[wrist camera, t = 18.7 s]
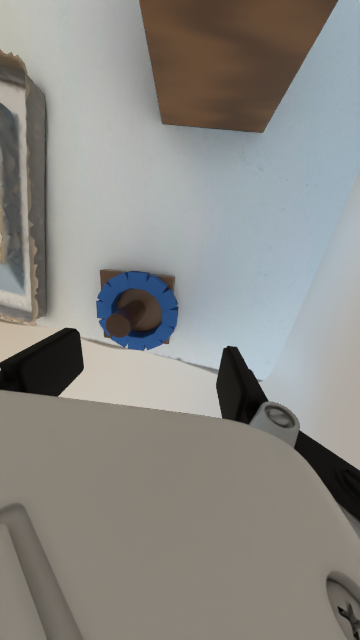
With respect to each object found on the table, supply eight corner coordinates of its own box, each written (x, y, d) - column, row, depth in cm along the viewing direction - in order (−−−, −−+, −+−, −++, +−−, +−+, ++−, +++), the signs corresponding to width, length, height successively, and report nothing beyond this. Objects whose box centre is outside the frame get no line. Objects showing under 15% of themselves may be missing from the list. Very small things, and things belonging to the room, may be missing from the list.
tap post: (174, 276, 21) (168, 283, 14) (169, 339, 24) (162, 371, 17) (105, 269, 21) (64, 272, 14) (108, 333, 24) (76, 362, 17)
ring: (181, 276, 20) (181, 277, 18) (174, 347, 23) (173, 354, 21) (101, 267, 20) (93, 267, 18) (105, 339, 23) (98, 345, 21)
